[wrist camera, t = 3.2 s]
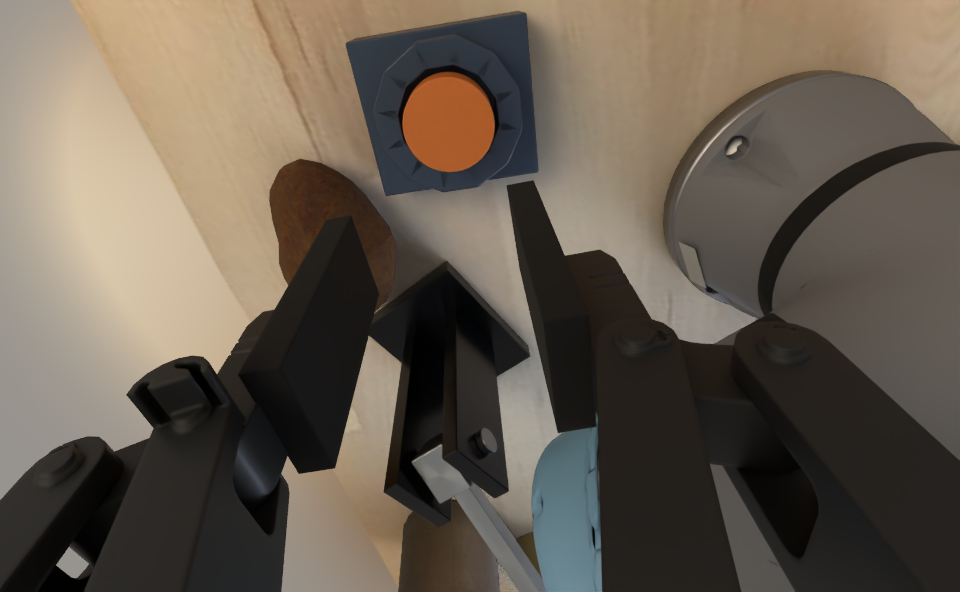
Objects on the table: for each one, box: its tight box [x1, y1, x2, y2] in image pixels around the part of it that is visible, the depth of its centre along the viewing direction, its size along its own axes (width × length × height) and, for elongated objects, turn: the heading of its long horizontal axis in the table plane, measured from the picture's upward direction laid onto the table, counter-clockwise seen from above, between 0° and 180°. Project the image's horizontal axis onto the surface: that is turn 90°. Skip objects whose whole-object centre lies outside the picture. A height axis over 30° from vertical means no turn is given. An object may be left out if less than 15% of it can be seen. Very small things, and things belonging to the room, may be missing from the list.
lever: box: [411, 432, 546, 592], centre depth 27 cm, size 13×7×2 cm, turn 37°
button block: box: [346, 11, 539, 196], centre depth 26 cm, size 9×8×4 cm
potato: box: [269, 159, 396, 311], centre depth 28 cm, size 7×10×7 cm
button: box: [403, 72, 495, 172], centre depth 23 cm, size 4×4×2 cm
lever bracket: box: [369, 261, 530, 527], centre depth 31 cm, size 10×8×14 cm
